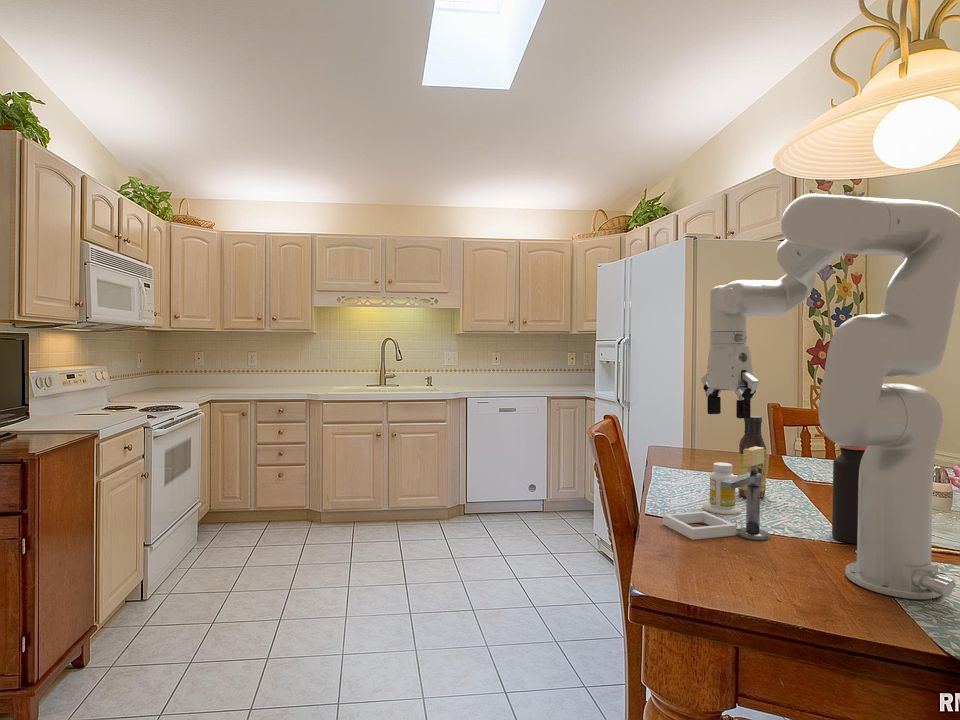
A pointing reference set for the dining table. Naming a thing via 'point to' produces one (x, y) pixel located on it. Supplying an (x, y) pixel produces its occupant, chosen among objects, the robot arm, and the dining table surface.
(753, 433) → the sauce bottle
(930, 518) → the robot arm
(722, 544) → the dining table surface
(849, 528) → the vinegar
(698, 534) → the dock
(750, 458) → the lever handle
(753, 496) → the post
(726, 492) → the supplement bottle
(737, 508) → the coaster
